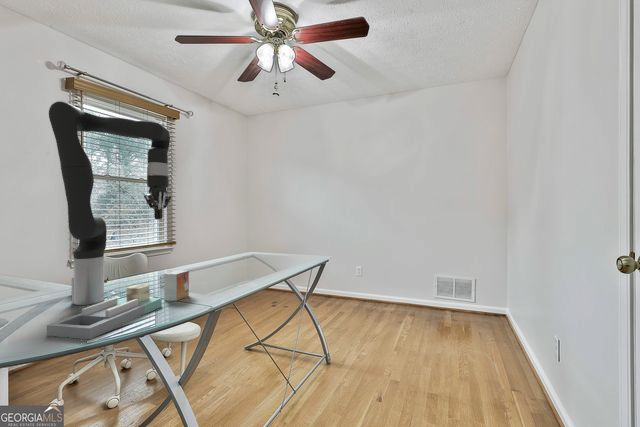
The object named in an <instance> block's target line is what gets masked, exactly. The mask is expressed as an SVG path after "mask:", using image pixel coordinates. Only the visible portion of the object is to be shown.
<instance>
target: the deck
mask: <svg viewBox="0 0 640 427" xmlns="http://www.w3.org/2000/svg"><path fill="white" fill-rule="evenodd" d="M162 301H163V300H162V297H150V299H148V300H145V301H143V302H140V303H139V299H134V300H131V301H129V302H127V296H125V297H122V298H120V299H118V297H113V298H110V299H107V300H103V301H101V302H98V303H95V304H91V305H90V306H89V305H88V306H87V307H86V306H85V307H83V308H81V313H78V314H75V315H72V316H69V317H66V318H63V319H60V320H57V321H55V322H52V323H49V324H47V325H46V337H54V336H58V337H57V338H67V337H69V338H70V339H81V340H82V339H83V340H92V339H95V338H96V337H98V336H101V335H102V334H105V333H107V332H109V331H112V330H113V329H116V328H118V327H120V326H122V325H124V324H127V323H128V322H131V321H133V320H135V319H137V318H140V317H142V316H144V315H145V314H148V313H150V312H152V311H154V310H157V309H159V308H161V307H162V303H163V302H162Z"/></svg>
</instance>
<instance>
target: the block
mask: <svg viewBox="0 0 640 427" xmlns="http://www.w3.org/2000/svg"><path fill="white" fill-rule="evenodd" d="M125 293H126V297H127V302H129V301H131V300H134V299H139V303H140V302H143V301H145V300H148V299H150V298H151V297H150V284H134V285H131V286H128V287H126V292H125Z"/></svg>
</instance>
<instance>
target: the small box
mask: <svg viewBox="0 0 640 427" xmlns="http://www.w3.org/2000/svg"><path fill="white" fill-rule="evenodd" d="M189 275H190V271H189V270H184V269H183V270H180V269H179V270H174V271H171V272H168V273H164V276H163V277H164V278H163V280H164V281H163V282H164V283H163V286H164V287H163V292H164V293H163V294H164V295H163V298H164V301H168V302H169V301H170V302H172V301H173V302H177V301H179V300H182V299H184V298H188V297H189V295H190V294H189V292H190V289H189V287H190V286H189V283H190V279H189V278H190V277H189Z"/></svg>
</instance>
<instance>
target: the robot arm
mask: <svg viewBox="0 0 640 427" xmlns="http://www.w3.org/2000/svg"><path fill="white" fill-rule="evenodd" d="M48 109H49V110H48V118H49V122H50V125H51V129H52V132H53V135H54V137H55V138H54V139H55V143H56V147H57V151H58V152H57V153H58V159H59V164H60V170H61V175H62V180H63V184H64V193H65V198H66V202H67V216H68V218H67V219H68V220H67V221H68V230H69V232H70V234H71V236H72V238H74V239H76V240H78V242H79V243H78V246H77V247H76V249H75V250H74V251H73V278H71V304H74V305H75V306H87V305H88V306H89V305H95V304H98V303H101V302H104V301H105V283H104V280H105V255H104V254H105V251H106V247H107V234H108V233H107V224H106V222H105V220H104V219H103V218H102V217H101V216H99V215H94V213H93V210H92V206H91V205H92V204H91V197H92V193H93V188H94V184H95V180H94V179H95V177H94V172H93V166H92V162H91V160H90V159H89V155H88V154H87V152H86V151H85V149H84V148H83V146H82V143H81V142H80V138H79V134H78V132H88V133H89V132H92V133H104V134H108V135H114V136H119V137H125V138H130V139H146V140H150V141H151V146H150V148H149V149H148V150H147V167H146V186H147V187H148V188H149V189H148V193H147V194H144V195H143V198H144V200H145V201H146V204H147V205H148V207H149V208H151V209H153V212H154V214H153V215H154V220H162V219H163V210H164V209H167V207H168V205H169V203H170V201H171V199H172V195H168V191H167V188H169V185H170V184H169V181H170V179H169V173H170V172H169V171H170V170H169V165H168V164H169V158H168V152H169V149H170V141H171V137H170V136H171V135H170V131H169V130H168V128H166V127H165V126H163V125H162V124H160V123H159V122H155V121H152V120H136V119H131V118H126V117H119V116H101V115H95V114H92V113H89V112H87V111H85V110H82V109H80V108H79V107H76V106H74V105H72V104H70V103H68V102H65V101H62V100H61V101H60V100H59V101H56V102H53V103H52V104H51V106H50V107H49V108H48Z"/></svg>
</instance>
